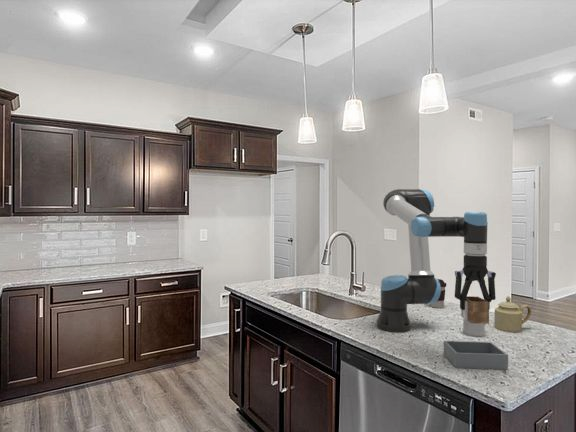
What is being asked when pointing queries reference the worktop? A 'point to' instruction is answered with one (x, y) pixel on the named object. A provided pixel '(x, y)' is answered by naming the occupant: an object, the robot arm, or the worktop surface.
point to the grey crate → (475, 355)
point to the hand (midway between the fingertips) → (474, 318)
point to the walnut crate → (477, 310)
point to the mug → (473, 328)
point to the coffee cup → (440, 301)
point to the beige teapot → (510, 316)
